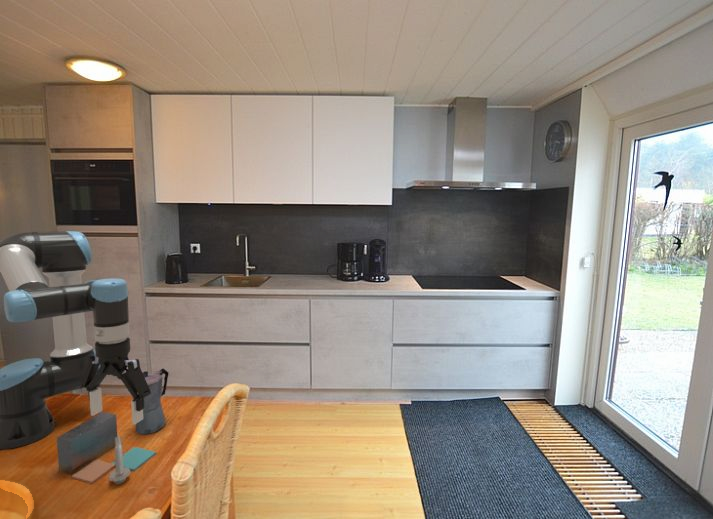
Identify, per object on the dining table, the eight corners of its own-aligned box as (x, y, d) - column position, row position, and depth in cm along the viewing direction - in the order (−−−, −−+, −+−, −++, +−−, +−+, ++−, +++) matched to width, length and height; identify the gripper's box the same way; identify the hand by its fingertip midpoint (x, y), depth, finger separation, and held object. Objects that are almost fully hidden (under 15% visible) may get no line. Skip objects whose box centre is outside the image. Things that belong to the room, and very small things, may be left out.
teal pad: (111, 465, 105) (111, 463, 105) (134, 448, 113) (134, 446, 113) (133, 471, 103) (133, 469, 103) (156, 453, 111) (156, 451, 111)
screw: (134, 478, 100) (116, 490, 96) (123, 472, 103) (105, 483, 98) (132, 434, 99) (113, 443, 95) (121, 428, 101) (102, 438, 97)
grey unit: (57, 470, 102) (55, 437, 101) (104, 441, 116) (102, 411, 115) (72, 474, 101) (70, 440, 100) (117, 444, 114) (116, 414, 113)
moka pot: (120, 437, 118) (117, 377, 116) (156, 412, 133) (154, 359, 131) (144, 442, 116) (142, 382, 113) (179, 416, 131) (177, 362, 128)
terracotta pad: (72, 478, 100) (71, 476, 100) (96, 461, 107) (96, 459, 106) (92, 483, 98) (92, 481, 98) (115, 466, 105) (115, 464, 105)
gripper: (60, 338, 94) (66, 416, 97) (140, 350, 88) (144, 433, 90) (88, 329, 101) (93, 402, 104) (164, 340, 95) (167, 417, 97)
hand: (116, 417), depth 97 cm, fingers open, 13 cm apart
